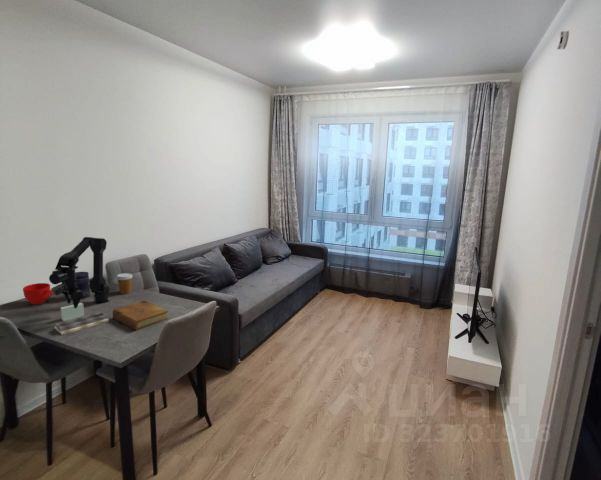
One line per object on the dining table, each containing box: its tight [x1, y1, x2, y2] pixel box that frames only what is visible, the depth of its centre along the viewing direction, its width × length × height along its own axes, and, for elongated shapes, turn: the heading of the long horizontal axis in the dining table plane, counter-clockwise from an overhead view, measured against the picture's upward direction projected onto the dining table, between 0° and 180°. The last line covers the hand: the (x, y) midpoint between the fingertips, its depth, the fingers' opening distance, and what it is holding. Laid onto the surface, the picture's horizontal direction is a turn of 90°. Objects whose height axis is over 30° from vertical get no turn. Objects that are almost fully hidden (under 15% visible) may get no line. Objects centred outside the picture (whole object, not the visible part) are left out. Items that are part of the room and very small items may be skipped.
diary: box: [112, 300, 169, 331], centre depth 195 cm, size 23×19×6 cm
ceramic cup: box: [22, 282, 54, 305], centre depth 210 cm, size 13×17×10 cm
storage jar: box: [75, 271, 91, 300], centre depth 221 cm, size 10×10×15 cm
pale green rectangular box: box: [60, 302, 85, 322], centre depth 192 cm, size 10×3×7 cm, turn 141°
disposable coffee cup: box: [116, 272, 134, 295], centre depth 232 cm, size 10×10×12 cm
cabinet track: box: [54, 311, 109, 336], centre depth 185 cm, size 22×10×3 cm, turn 141°
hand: (72, 305), depth 192 cm, fingers open, 9 cm apart
